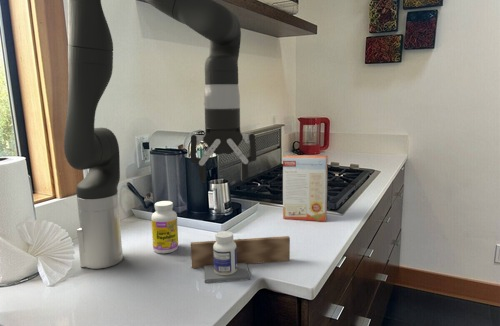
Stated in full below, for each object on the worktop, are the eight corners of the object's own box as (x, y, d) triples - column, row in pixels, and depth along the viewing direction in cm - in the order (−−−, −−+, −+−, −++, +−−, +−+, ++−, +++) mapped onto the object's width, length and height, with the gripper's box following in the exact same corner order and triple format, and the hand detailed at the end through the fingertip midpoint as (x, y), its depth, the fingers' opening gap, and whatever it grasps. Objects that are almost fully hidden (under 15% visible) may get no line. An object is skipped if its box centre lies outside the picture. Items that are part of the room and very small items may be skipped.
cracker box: (326, 216, 127) (328, 155, 123) (325, 222, 121) (326, 158, 117) (285, 213, 130) (285, 154, 127) (282, 219, 125) (282, 156, 121)
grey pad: (204, 283, 82) (204, 279, 82) (204, 268, 89) (204, 265, 89) (250, 279, 84) (250, 276, 84) (246, 265, 91) (246, 262, 91)
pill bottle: (224, 263, 90) (224, 228, 89) (241, 269, 87) (241, 233, 85) (209, 271, 86) (207, 234, 84) (225, 278, 83) (225, 240, 81)
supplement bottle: (153, 255, 97) (150, 207, 95) (152, 246, 103) (149, 201, 101) (179, 252, 99) (177, 205, 97) (177, 243, 105) (175, 198, 103)
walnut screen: (191, 268, 90) (190, 244, 89) (191, 265, 91) (190, 242, 90) (289, 260, 93) (289, 237, 92) (288, 258, 94) (288, 236, 93)
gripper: (188, 107, 75) (190, 186, 78) (258, 106, 77) (258, 183, 80) (188, 106, 83) (191, 178, 86) (252, 105, 85) (253, 176, 87)
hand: (223, 180), depth 83 cm, fingers open, 8 cm apart
